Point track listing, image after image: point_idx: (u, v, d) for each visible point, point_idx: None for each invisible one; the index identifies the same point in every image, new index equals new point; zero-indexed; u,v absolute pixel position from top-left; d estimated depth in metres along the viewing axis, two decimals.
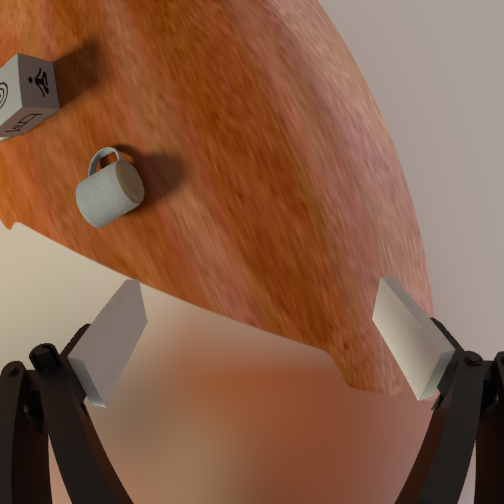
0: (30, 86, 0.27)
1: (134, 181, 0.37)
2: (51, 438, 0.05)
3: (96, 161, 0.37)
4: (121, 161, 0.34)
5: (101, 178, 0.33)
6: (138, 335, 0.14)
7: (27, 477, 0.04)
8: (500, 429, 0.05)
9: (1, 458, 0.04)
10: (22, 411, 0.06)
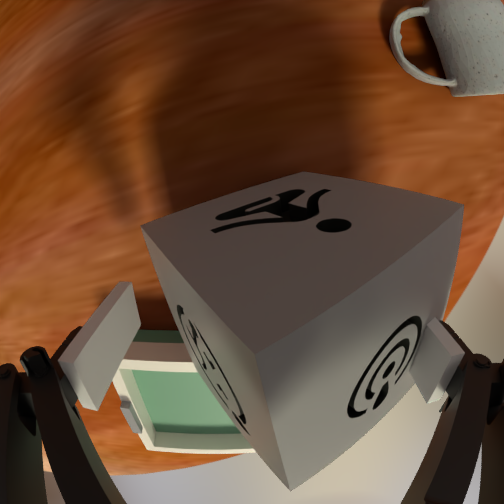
0: (361, 215, 0.09)
1: None
2: (44, 441, 0.05)
3: None
4: None
5: (484, 18, 0.07)
6: (131, 338, 0.14)
7: (22, 479, 0.04)
8: None
9: None
10: (15, 413, 0.06)
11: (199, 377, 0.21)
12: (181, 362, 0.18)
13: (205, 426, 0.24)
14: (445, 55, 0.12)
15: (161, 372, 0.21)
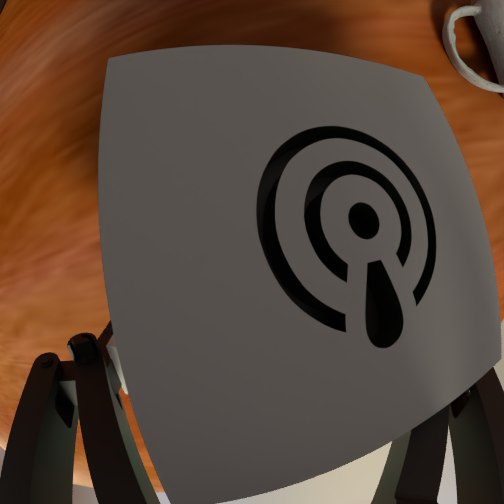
0: None
1: None
2: (82, 428, 0.06)
3: None
4: None
5: None
6: None
7: (50, 472, 0.05)
8: (476, 424, 0.06)
9: (24, 451, 0.04)
10: (52, 404, 0.07)
11: None
12: None
13: None
14: (500, 59, 0.09)
15: None
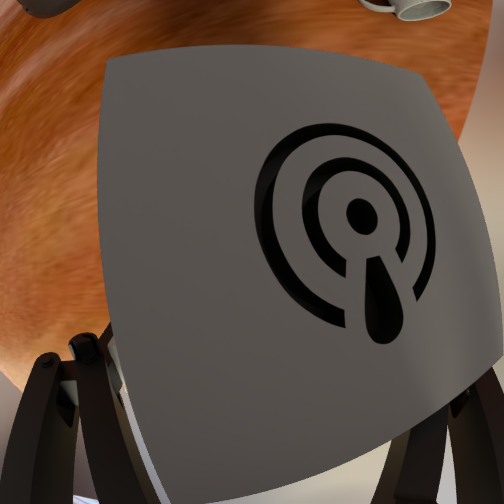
0: None
1: None
2: (83, 428, 0.06)
3: None
4: None
5: None
6: None
7: (50, 471, 0.05)
8: (475, 424, 0.06)
9: (25, 451, 0.04)
10: (53, 404, 0.07)
11: None
12: None
13: None
14: None
15: None
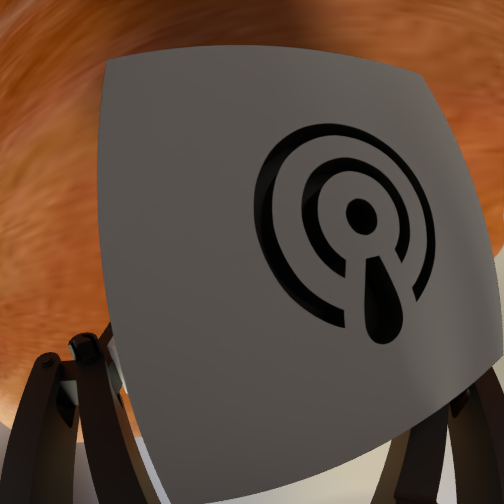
0: None
1: None
2: (83, 428, 0.06)
3: None
4: None
5: None
6: None
7: (50, 471, 0.05)
8: (475, 424, 0.06)
9: (25, 451, 0.04)
10: (53, 405, 0.07)
11: None
12: None
13: None
14: None
15: None
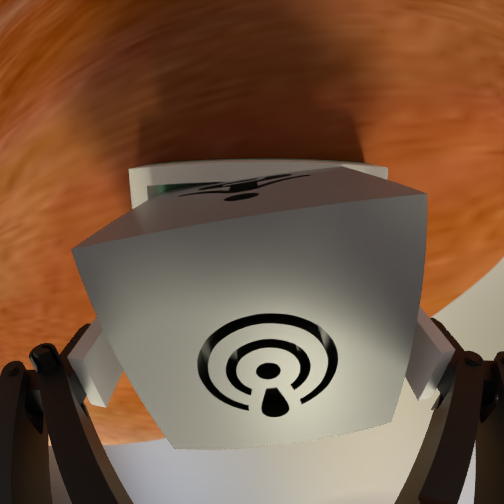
0: (279, 191, 0.09)
1: None
2: (51, 438, 0.05)
3: None
4: None
5: None
6: None
7: (27, 477, 0.04)
8: (500, 429, 0.05)
9: (1, 458, 0.04)
10: (22, 411, 0.06)
11: None
12: (237, 162, 0.14)
13: None
14: None
15: None
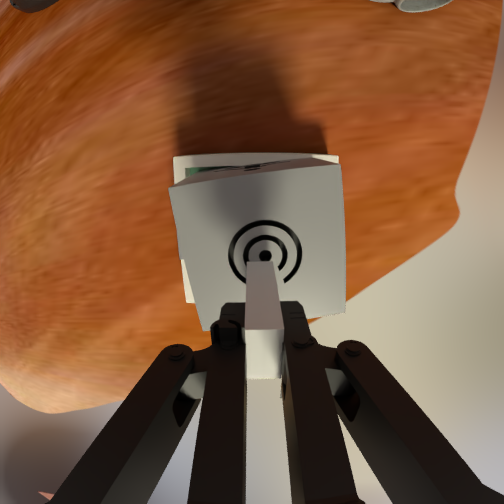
0: (271, 167, 0.18)
1: None
2: (202, 414, 0.07)
3: None
4: None
5: None
6: None
7: (139, 472, 0.06)
8: (378, 429, 0.07)
9: (118, 447, 0.05)
10: (170, 403, 0.08)
11: None
12: (242, 154, 0.23)
13: None
14: None
15: None
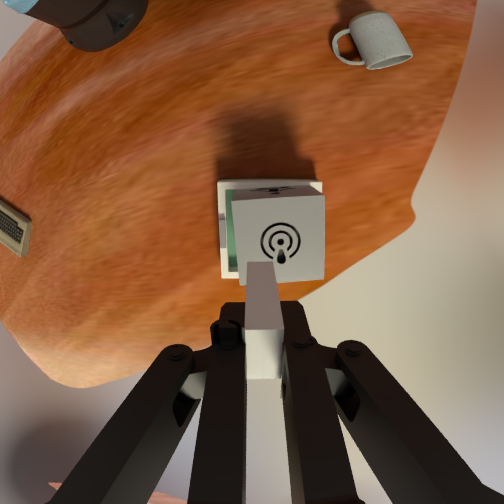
0: (286, 192, 0.33)
1: None
2: (202, 414, 0.07)
3: None
4: (351, 19, 0.28)
5: (370, 28, 0.26)
6: None
7: (139, 472, 0.06)
8: (378, 429, 0.07)
9: (118, 447, 0.05)
10: (170, 404, 0.08)
11: None
12: (261, 181, 0.37)
13: None
14: (358, 50, 0.31)
15: None
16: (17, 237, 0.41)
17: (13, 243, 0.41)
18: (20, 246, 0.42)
